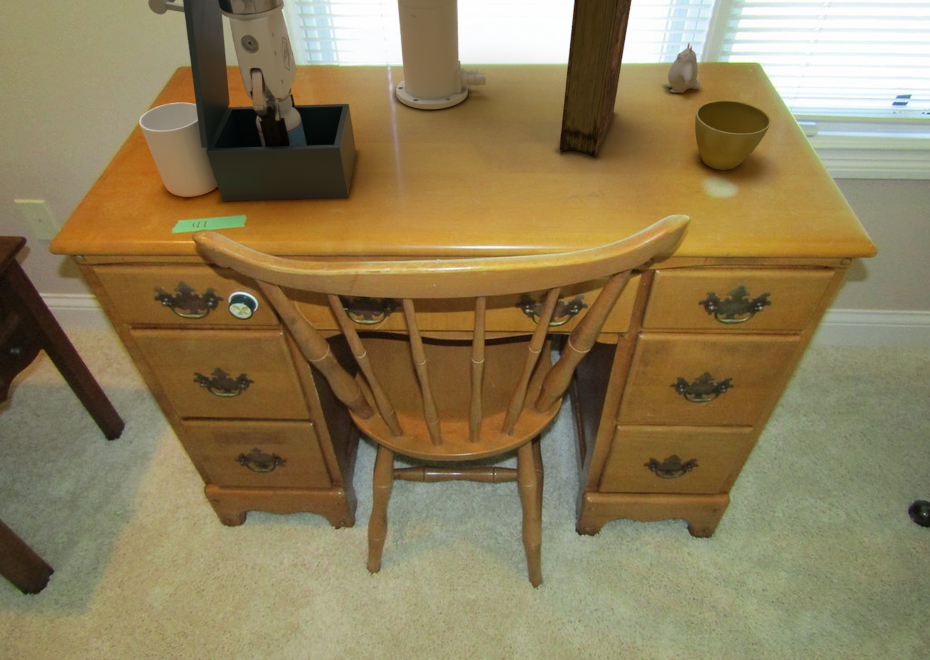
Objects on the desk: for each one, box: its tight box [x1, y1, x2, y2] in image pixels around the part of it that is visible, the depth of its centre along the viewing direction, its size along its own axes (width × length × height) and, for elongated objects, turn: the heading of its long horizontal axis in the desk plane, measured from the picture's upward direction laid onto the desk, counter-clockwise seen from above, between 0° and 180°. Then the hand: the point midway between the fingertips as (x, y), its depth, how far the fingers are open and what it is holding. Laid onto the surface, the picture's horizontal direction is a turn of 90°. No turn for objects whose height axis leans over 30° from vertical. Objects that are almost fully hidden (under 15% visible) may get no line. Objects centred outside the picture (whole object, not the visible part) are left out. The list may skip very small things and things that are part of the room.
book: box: [559, 0, 632, 157], centre depth 92 cm, size 16×6×25 cm, turn 160°
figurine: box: [666, 42, 701, 94], centre depth 108 cm, size 8×6×8 cm
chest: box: [206, 103, 357, 202], centre depth 90 cm, size 18×13×8 cm
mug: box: [138, 101, 218, 198], centre depth 90 cm, size 12×8×10 cm
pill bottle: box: [256, 91, 307, 147], centre depth 89 cm, size 6×6×11 cm
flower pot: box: [694, 99, 772, 171], centre depth 92 cm, size 10×10×7 cm
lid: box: [148, 0, 231, 148], centre depth 80 cm, size 18×13×6 cm
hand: (282, 132), depth 88 cm, fingers closed on pill bottle, 6 cm apart
